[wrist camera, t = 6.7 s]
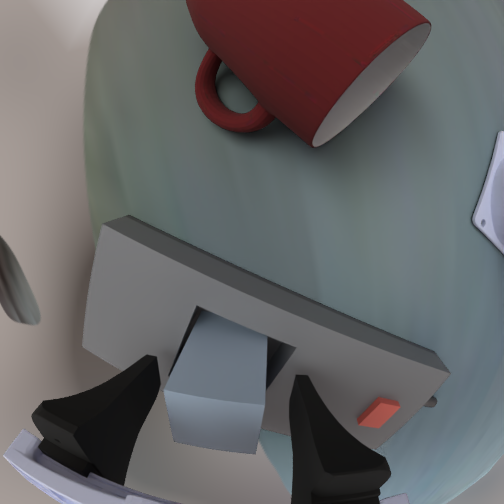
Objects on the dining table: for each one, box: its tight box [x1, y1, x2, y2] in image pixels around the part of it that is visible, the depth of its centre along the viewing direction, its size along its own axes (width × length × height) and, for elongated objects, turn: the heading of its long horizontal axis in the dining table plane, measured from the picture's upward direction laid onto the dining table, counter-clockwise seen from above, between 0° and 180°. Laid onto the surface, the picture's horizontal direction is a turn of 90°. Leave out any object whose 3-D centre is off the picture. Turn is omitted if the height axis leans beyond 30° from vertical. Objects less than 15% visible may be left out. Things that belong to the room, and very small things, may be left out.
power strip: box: [82, 215, 451, 449], centre depth 16 cm, size 29×9×4 cm, turn 65°
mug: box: [186, 0, 431, 148], centre depth 10 cm, size 10×8×10 cm
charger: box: [164, 311, 267, 454], centre depth 13 cm, size 4×4×7 cm
